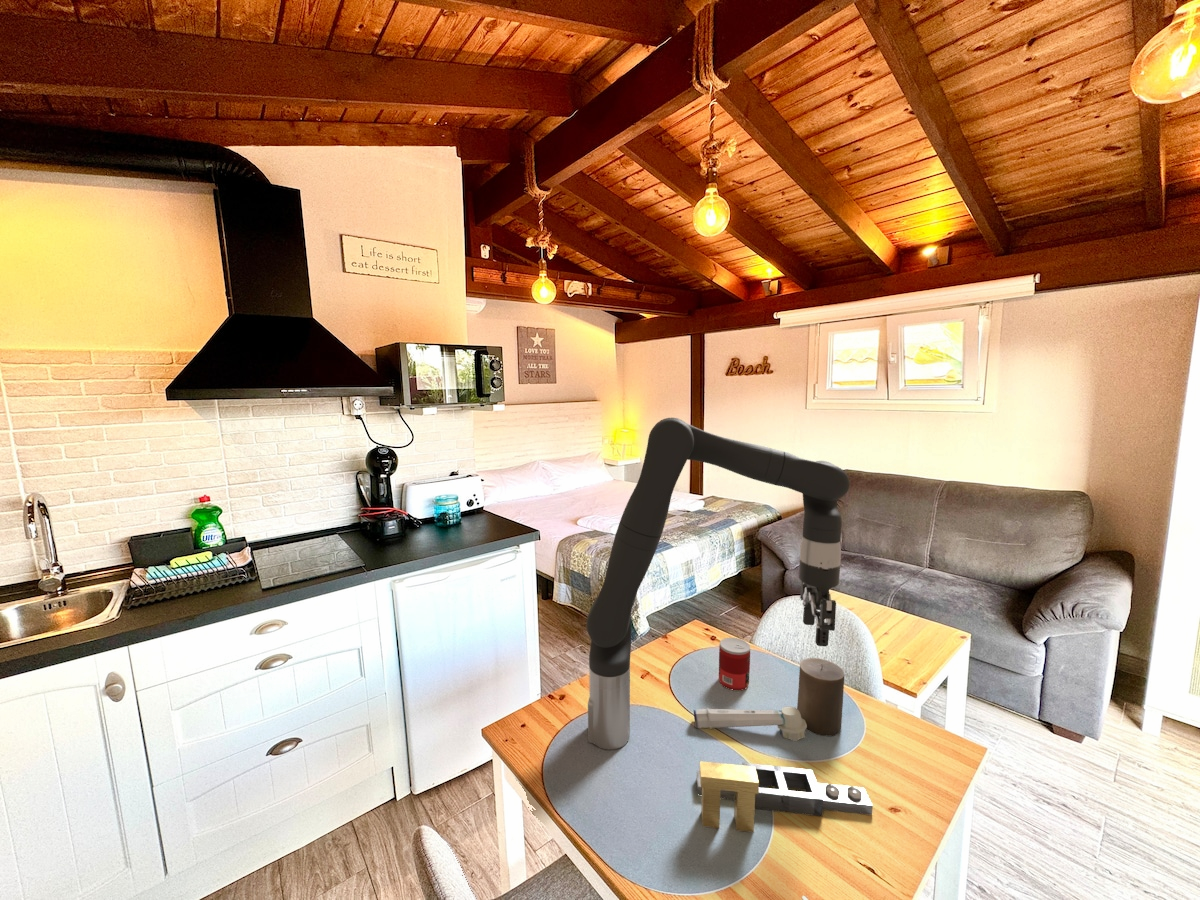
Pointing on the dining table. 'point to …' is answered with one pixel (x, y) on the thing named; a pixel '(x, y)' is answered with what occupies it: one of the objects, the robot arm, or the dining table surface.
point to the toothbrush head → (754, 720)
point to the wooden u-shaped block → (728, 779)
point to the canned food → (734, 663)
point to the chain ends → (801, 793)
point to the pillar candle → (821, 696)
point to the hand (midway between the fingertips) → (814, 634)
